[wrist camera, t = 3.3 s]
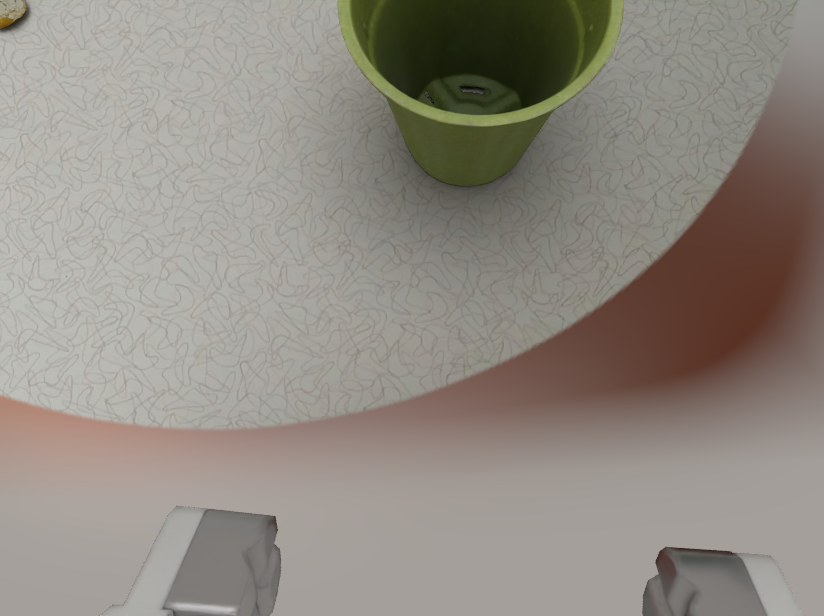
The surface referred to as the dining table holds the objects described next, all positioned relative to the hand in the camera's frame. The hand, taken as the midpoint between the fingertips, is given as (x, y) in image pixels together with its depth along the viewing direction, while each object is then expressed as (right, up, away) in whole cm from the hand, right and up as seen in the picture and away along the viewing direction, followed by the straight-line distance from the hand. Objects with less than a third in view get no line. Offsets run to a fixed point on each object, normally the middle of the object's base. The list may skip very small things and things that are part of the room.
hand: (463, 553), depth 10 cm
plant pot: (+2, +14, +27) cm, 31 cm away
